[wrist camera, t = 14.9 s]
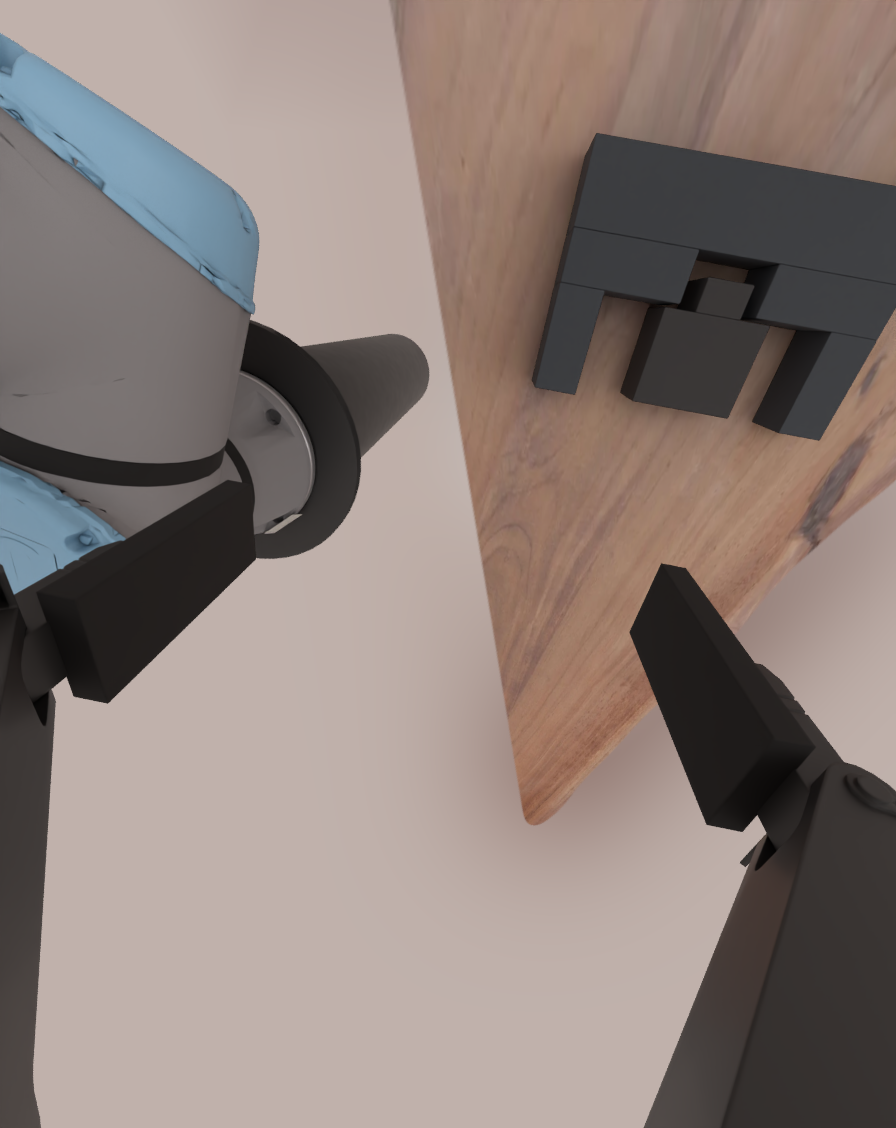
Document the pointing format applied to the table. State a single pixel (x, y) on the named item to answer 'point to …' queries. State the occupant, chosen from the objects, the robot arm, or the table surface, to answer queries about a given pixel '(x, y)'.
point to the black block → (696, 350)
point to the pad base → (730, 262)
